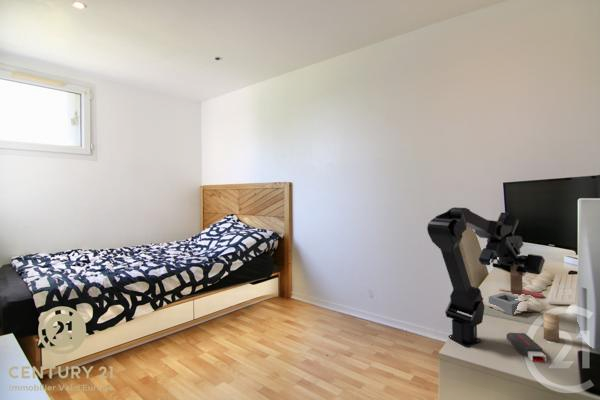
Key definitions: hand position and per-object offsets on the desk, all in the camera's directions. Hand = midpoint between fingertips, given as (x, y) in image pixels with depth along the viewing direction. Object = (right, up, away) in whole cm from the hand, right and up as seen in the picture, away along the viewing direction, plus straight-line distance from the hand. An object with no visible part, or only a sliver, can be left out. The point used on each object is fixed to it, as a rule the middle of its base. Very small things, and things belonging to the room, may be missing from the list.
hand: (517, 273), depth 110 cm
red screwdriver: (+12, -13, +16) cm, 24 cm away
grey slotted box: (-2, -13, +2) cm, 14 cm away
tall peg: (-1, -7, 0) cm, 7 cm away
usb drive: (-15, -16, -24) cm, 32 cm away
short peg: (-4, -15, -19) cm, 25 cm away
